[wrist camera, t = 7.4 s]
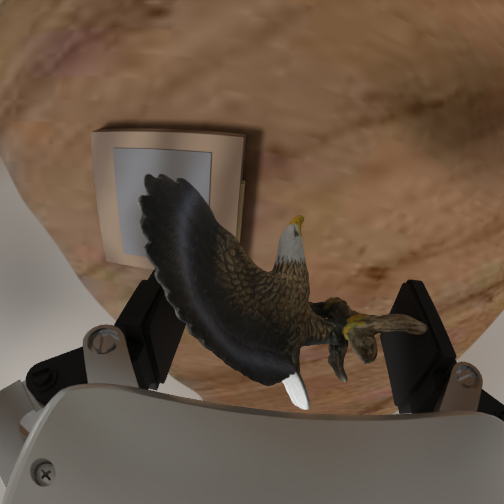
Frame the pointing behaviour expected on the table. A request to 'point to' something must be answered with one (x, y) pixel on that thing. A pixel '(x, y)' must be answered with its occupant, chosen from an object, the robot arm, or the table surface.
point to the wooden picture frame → (170, 164)
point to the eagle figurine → (249, 293)
